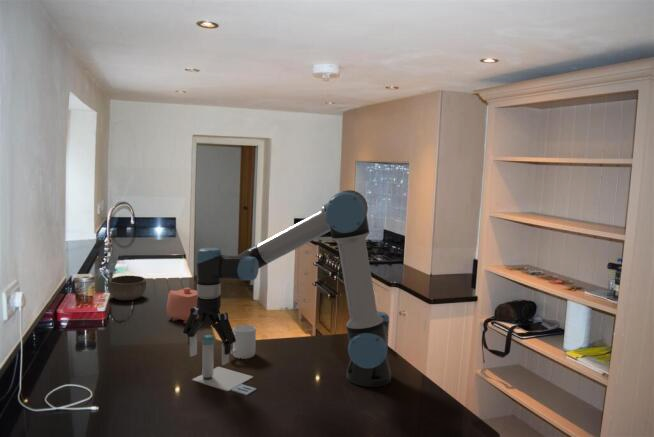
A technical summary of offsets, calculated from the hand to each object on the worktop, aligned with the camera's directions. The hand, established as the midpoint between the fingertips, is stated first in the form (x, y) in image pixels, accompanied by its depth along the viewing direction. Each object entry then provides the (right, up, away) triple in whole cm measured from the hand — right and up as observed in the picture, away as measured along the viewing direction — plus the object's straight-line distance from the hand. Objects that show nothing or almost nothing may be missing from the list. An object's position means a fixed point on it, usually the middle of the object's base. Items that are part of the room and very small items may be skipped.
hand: (209, 359), depth 173 cm
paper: (+4, -7, +2) cm, 8 cm away
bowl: (-62, +6, +92) cm, 111 cm away
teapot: (-24, +1, +63) cm, 67 cm away
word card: (+12, -8, -6) cm, 16 cm away
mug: (+6, -5, +22) cm, 23 cm away
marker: (-1, -6, +1) cm, 7 cm away
